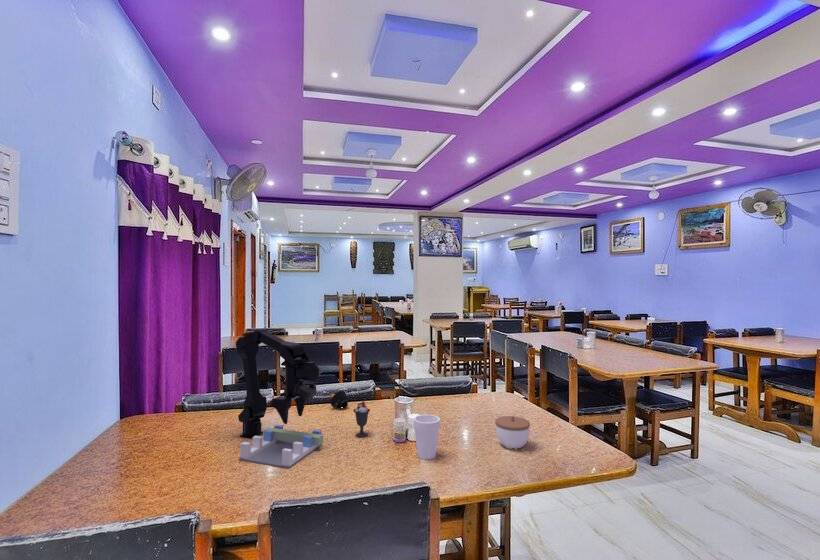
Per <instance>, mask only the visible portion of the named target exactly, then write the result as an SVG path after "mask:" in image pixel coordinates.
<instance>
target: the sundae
mask: <svg viewBox="0 0 820 560" xmlns="http://www.w3.org/2000/svg"><path fill="white" fill-rule="evenodd" d="M365 400H366V398H364V399H363V400H362V402H358V403H357V405H356V408H354V409H353V413H354V414H355V420H356V425H358V427H359V428H360V430H359V432H357V433H356V434H355V437H356V438H366V437H368V435H369V434H368V433H367V432H364V427H365V426H366V425H367V423H368V418H369V413H370V412H371V409H369V408H368V406H367V404H366V403H365Z"/></svg>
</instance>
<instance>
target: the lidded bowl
mask: <svg viewBox="0 0 820 560" xmlns="http://www.w3.org/2000/svg"><path fill="white" fill-rule="evenodd" d="M494 423H495V433H496V437H497V439H498V441H499V442H500V443H501V444H502V446H503V447H504V446H505V447H508V448H521V447H522V448H523V447H524V446H525V444H526V443H527V442H528V440H529V436H530V427H531V423H530V421H529V420H527V419H526V418H523V417H519V416H515V415H504V416H499V417H497V418H496V419H495V422H494ZM505 447H504V448H505ZM508 448H507V449H508ZM522 448H521V449H522Z"/></svg>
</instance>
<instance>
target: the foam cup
mask: <svg viewBox="0 0 820 560" xmlns="http://www.w3.org/2000/svg"><path fill="white" fill-rule="evenodd" d="M440 427H441V418H440V417H439V416H437V415H435V414H418V415H416V416H414V417H413V428H414V435H415V437H414V438H415V445H416V452H417V457H418V458H419V459H421V460H433V459H435V458H436V455H437V449H438V448H437V447H438V441H439V439H438V438H439V431H440Z"/></svg>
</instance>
